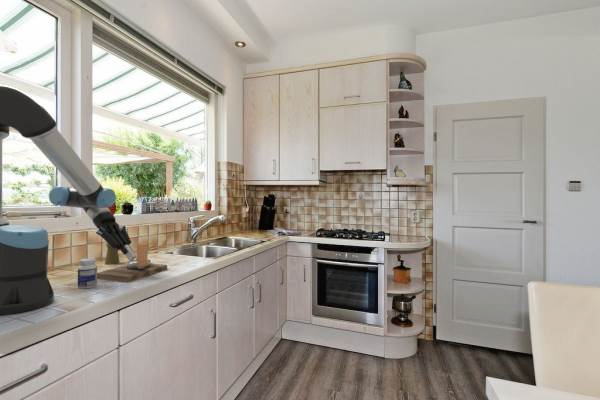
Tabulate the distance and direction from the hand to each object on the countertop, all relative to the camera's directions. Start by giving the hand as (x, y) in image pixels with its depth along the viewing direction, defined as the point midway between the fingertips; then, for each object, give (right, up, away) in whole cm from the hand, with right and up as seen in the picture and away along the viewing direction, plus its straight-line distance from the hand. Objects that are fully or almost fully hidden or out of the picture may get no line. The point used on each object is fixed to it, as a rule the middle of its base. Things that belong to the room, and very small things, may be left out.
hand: (133, 258), depth 119 cm
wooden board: (-3, -7, +5) cm, 9 cm away
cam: (-1, -5, +7) cm, 9 cm away
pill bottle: (-8, -7, -14) cm, 18 cm away
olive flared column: (-23, -7, +22) cm, 33 cm away
